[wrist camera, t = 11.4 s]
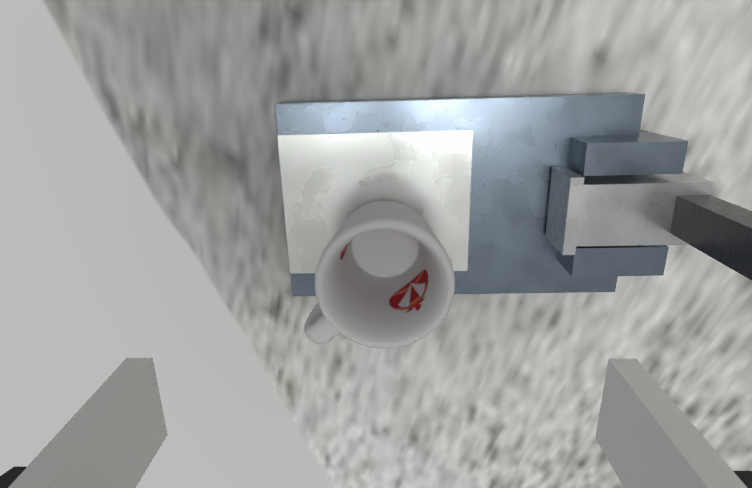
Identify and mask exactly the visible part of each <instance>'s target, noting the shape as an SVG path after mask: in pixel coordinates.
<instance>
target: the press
mask: <svg viewBox="0 0 752 488" xmlns="http://www.w3.org/2000/svg"><path fill="white" fill-rule="evenodd" d="M644 98H645V94H636V93H597V94H559V95H521V96H484V97H446V98H408V99H370V100H332V101H294V102H281V103H277V104H275V107H276V118H277V129H278V135H277V140H278V150H279V161H280V172H281V182H282V193H283V204H284V215H285V225H286V236H287V247H288V257H289V268H290V273H291V280H292V291H293V296H316V293H315V273H316V268H317V264H318V262H319V259H320V257H321V255H322V253H323V251H324V249H325V248H326V246H327V245H328V244H329V242H330V241H331V239H332V238H333V237H334V235H335V234H336V232H337V231H338V230H339V228H340V227H341V225H342V224H343V223H344V221H345V220H346V219H347V218H348V217H349V216H350V215H351V214H352V213H353V212H354V211H355V210H357V209H358V208H360V207H362V206H364V205H366V204H369V203H372V202H377V201H394V202H399V203H402V204H404V205H407V206H409V207H411V208H412V209H414V210H415V211H416V212H418V213H419V214H420V215H421V216H422V217H423V218H424V219H425V220H426V222H427V223H428V225H429V226H430V228H431V229H432V231H433V232H434V234H435V235H436V237H437V238H438V240H439V241H440V243H441V244H442V246H443V247H444V249H445V250H446V252H447V254H448V256H449V258H450V260H451V263H452V266H453V270H454V276H455V291H454V294H491V293H564V292H615V288H616V282H617V276H647V275H663V273H664V268H665V263H666V257H667V252H668V246H666V245H635V246H576V252H575V255H562V254H561V253H560V252H559V251H558V250H557V249H556V248H555V247H554V246H553V245H552V243H551V242H550V241H549V240H548V239H547V238H546V237H545V235H546V225H547V214H548V204H549V193H550V183H551V172H552V167H559V166H564V167H566V168H568V169H570V170H572V171H573V172H575V173H577V174H581V175H583V176H606V175H653V174H682V171H683V166H684V161H685V155H686V150H687V145H688V141H686V140H682V139H677V138H673V137H669V136H665V135H660V134H656V133H652V132H648V131H643V130H641V131H640V124H641V117H642V111H643V104H644Z"/></svg>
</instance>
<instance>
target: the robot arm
mask: <svg viewBox="0 0 752 488" xmlns="http://www.w3.org/2000/svg"><path fill="white" fill-rule="evenodd" d="M166 436H167V430H166V425H165V420H164V415H163V410H162V404H161V399H160V394H159V389H158V383H157V378H156V373H155V368H154V363H153V358H126V359H125V360H124V362H123V363H122V364H121V365H120V366H119V367H118V368H117V369H116V370H115V371H114V372H113V373H112V375H111V376H110V377H109V378H108V379H107V380H106V381H105V382H104V383H103V384H102V386H101V387H100V388H99V389H98V390H97V391H96V392H95V393H94V394H93V395H92V397H91V398H90V399H89V400H88V401H87V402H86V403H85V404H84V405H83V406H82V407H81V409H80V410H79V411H78V412H77V413H76V414H75V415H74V416H73V417H72V418H71V419H70V421H69V422H68V423H67V424H66V425H65V426H64V427H63V428H62V429H61V430H60V432H59V433H58V434H57V435H56V436H55V437H54V438H53V439H52V440H51V441H50V442H49V444H48V445H47V446H46V447H45V448H44V449H43V450H42V451H41V452H40V454H38V456H37V457H36V458H35V459H34V460H33V461H32V462H31V463H30V464H29V466H28V467H13V468H12V469H10V470H9V471H7V472H6V473H4V474H3V475H2V476H0V488H135V487H136V486H137V484H138V482H139V481H140V479H141V477H142V476H143V474H144V473H145V471H146V469H147V468H148V466H149V464H150V463H151V461H152V459H153V458H154V456H155V454H156V453H157V451H158V449H159V448H160V446H161V445H162V443H163V441H164V439H165V438H166ZM596 439H597V441H598V443H599V444H600V446H601V448H602V450H603V451H604V453H605V455H606V457H607V459H608V460H609V462H610V464H611V466H612V467H613V469H614V471H615V473H616V474H617V476H618V478H619V480H620V481H621V483H622V485H623V487H624V488H752V471H733V470H732V469H731V468H730V467H729V466H728V465H727V463H726V462H725V461H724V460H723V459H722V458H721V456H720V455H719V454H718V453H717V452H716V451H715V450H714V448H713V447H712V446H711V445H710V444H709V443H708V441H707V440H706V439H705V438H704V437H703V436H702V434H701V433H700V432H699V431H698V430H697V429H696V427H695V426H694V425H693V424H692V423H691V422H690V421H689V419H688V418H687V417H686V416H685V415H684V414H683V412H682V411H681V410H680V409H679V408H678V407H677V405H676V404H675V403H674V402H673V401H672V400H671V399H670V397H669V396H668V395H667V394H666V393H665V392H664V390H663V389H662V388H661V387H660V386H659V385H658V383H657V382H656V381H655V380H654V379H653V378H652V377H651V375H650V374H649V373H648V372H647V371H646V370H645V368H644V367H643V366H642V365H641V364H640V363H639V361H638V360H637V359H609V361H608V367H607V373H606V379H605V385H604V390H603V396H602V402H601V408H600V414H599V420H598V426H597V432H596Z"/></svg>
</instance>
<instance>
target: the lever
mask: <svg viewBox="0 0 752 488" xmlns="http://www.w3.org/2000/svg"><path fill="white" fill-rule="evenodd" d="M712 183H713V182H711V181H708V180H705V179H702V178H699V177H696V176H693V175H690V174H687V173H684V172H682V174H653V175H606V176H583V175H581V174H577V173H575V172H573V171H572V170H570V169H568V168H566V167H564V166H559V167H552V172H551V183H550V193H549V204H548V214H547V225H546V235H545V237H546V238H547V239H548V240H549V241H550V242H551V243H552V245H553V246H554V247H555V248H556V249H557V250H558V251H559V252H560V253H561V254H562V255H575V252H576V246H635V245H691V246H693V247H695V248H697V249H698V250H700V251H702V252H703V253H705V254H707V255H709V256H710V257H712V258H714V259H716V260H717V261H719V262H721V263H723V264H724V265H726V266H728V267H729V268H731V269H733V270H735V271H736V272H738V273H740V274H742V275H743V276H745V277H747V278H749V279H750V280H752V211H750V210H747V209H745V208H742V207H739V206H737V205H734V204H732V203H729V202H726V201H724V200H721V199H719V198H716V197H714V196H711V195H710V193H711V188H712Z"/></svg>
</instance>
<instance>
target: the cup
mask: <svg viewBox="0 0 752 488" xmlns="http://www.w3.org/2000/svg"><path fill="white" fill-rule="evenodd" d="M454 291H455V276H454V270H453V266H452V263H451V260H450V258H449V256H448V254H447V252H446V250H445V249H444V247H443V246H442V244H441V243H440V241H439V240H438V238H437V237H436V235H435V234H434V232H433V231H432V229H431V228H430V226H429V225H428V223H427V222H426V220H425V219H424V218H423V217H422V216H421V215H420V214H419V213H418V212H416V211H415V210H414V209H412V208H411V207H409V206H407V205H404V204H402V203H399V202H394V201H377V202H372V203H369V204H366V205H364V206H362V207H360V208H358V209H357V210H355V211H354V212H353V213H352V214H351V215H350V216H349V217H348V218H347V219H346V220H345V221H344V223H343V224H342V225H341V227H340V228H339V230H338V231H337V232H336V234H335V235H334V237H333V238H332V239H331V241H330V242H329V244H328V245H327V246H326V248H325V249H324V251H323V253H322V255H321V257H320V259H319V262H318V264H317V268H316V273H315V293H316V298H317V301H318V304H317V305H316V306H315V307H314V309H313V310H312V312H311V313H310V315H309V317H308V319H307V321H306V324H305V328H304V331H305V334H306V336H307V337H308V338H309V339H310V340H312V341H313V342H314V343H316V344H324V343H326V342H328V341H329V340H331V339H332V338H333V337H335V336H336V335H337V334H339V333H341V334H342V335H344V336H345V337H347V338H348V339H350V340H352V341H354V342H357V343H359V344H362V345H365V346H370V347H376V348H394V347H400V346H405V345H408V344H411V343H414V342H416V341H418V340H420V339H422V338H424V337H425V336H427V335H428V334H429V333H431V332H432V331H433V330H434V329H435V328H436V327H437V326H438V325H439V324H440V323H441V322H442V320H443V319H444V318H445V316H446V314H447V313H448V311H449V309H450V306H451V304H452V301H453V297H454Z"/></svg>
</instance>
